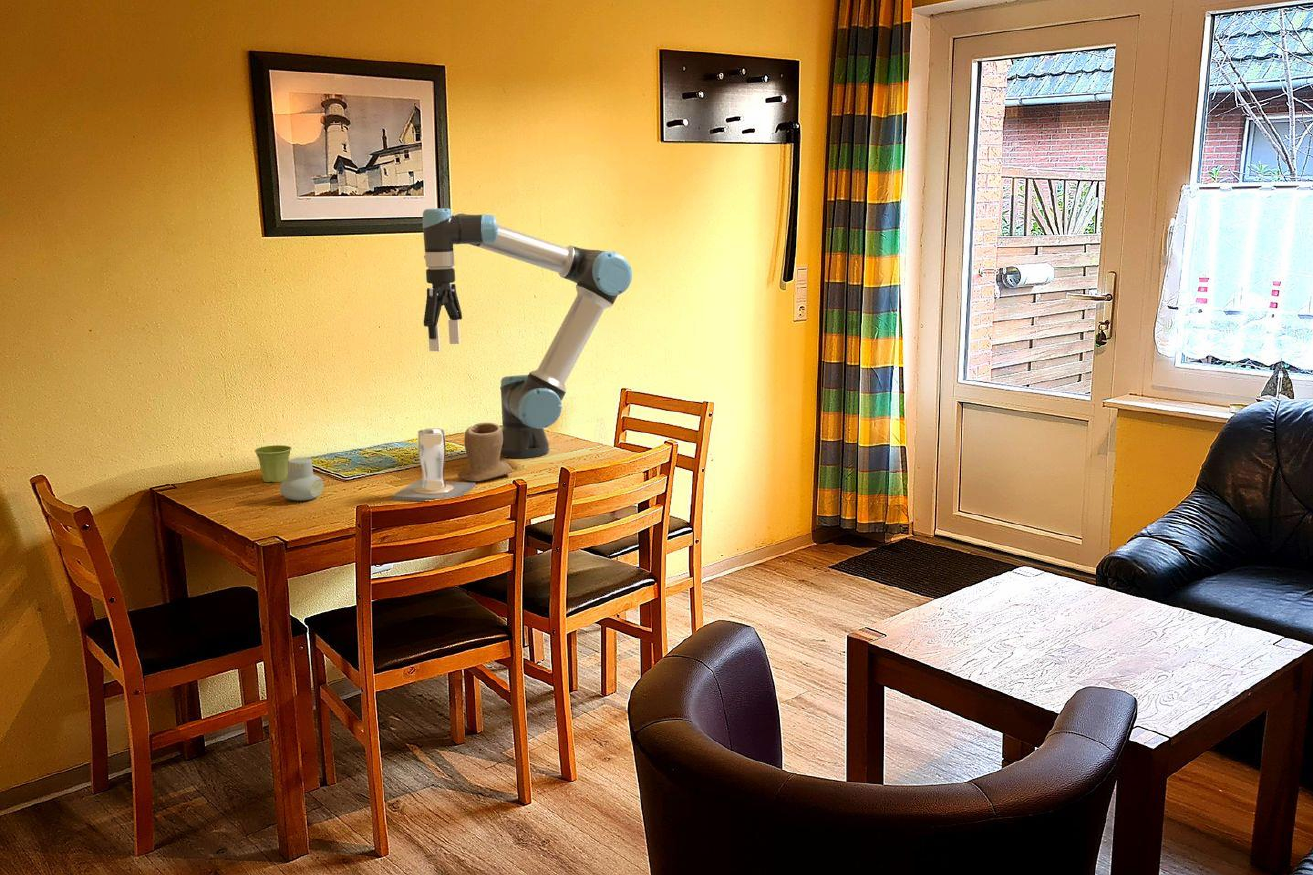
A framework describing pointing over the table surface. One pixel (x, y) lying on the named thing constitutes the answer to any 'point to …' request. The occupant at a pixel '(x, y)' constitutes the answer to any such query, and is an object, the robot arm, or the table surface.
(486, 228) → the robot arm
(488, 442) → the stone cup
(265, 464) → the plant pot
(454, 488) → the slate board
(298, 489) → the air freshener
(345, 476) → the table surface
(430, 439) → the beer glass
